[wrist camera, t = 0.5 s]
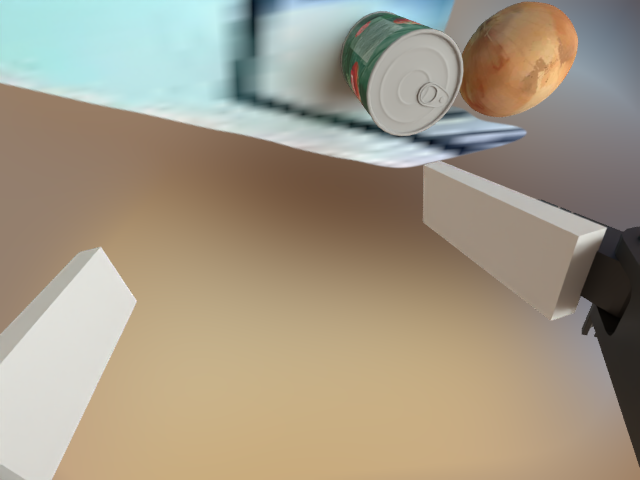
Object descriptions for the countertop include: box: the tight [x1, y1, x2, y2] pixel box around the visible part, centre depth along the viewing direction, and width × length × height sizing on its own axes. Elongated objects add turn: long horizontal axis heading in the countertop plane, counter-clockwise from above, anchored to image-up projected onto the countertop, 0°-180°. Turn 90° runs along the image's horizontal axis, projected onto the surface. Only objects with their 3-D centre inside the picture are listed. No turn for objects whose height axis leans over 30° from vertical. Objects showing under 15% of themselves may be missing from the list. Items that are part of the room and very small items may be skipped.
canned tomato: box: [341, 11, 463, 136], centre depth 27 cm, size 8×8×11 cm
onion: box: [459, 2, 578, 117], centre depth 29 cm, size 10×10×10 cm
